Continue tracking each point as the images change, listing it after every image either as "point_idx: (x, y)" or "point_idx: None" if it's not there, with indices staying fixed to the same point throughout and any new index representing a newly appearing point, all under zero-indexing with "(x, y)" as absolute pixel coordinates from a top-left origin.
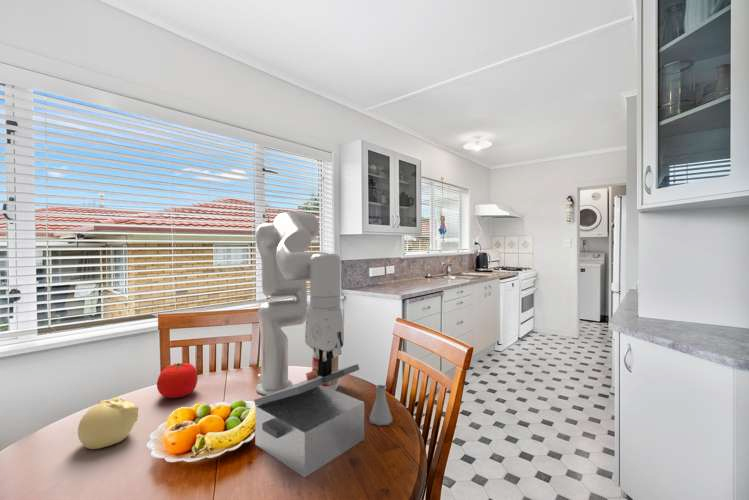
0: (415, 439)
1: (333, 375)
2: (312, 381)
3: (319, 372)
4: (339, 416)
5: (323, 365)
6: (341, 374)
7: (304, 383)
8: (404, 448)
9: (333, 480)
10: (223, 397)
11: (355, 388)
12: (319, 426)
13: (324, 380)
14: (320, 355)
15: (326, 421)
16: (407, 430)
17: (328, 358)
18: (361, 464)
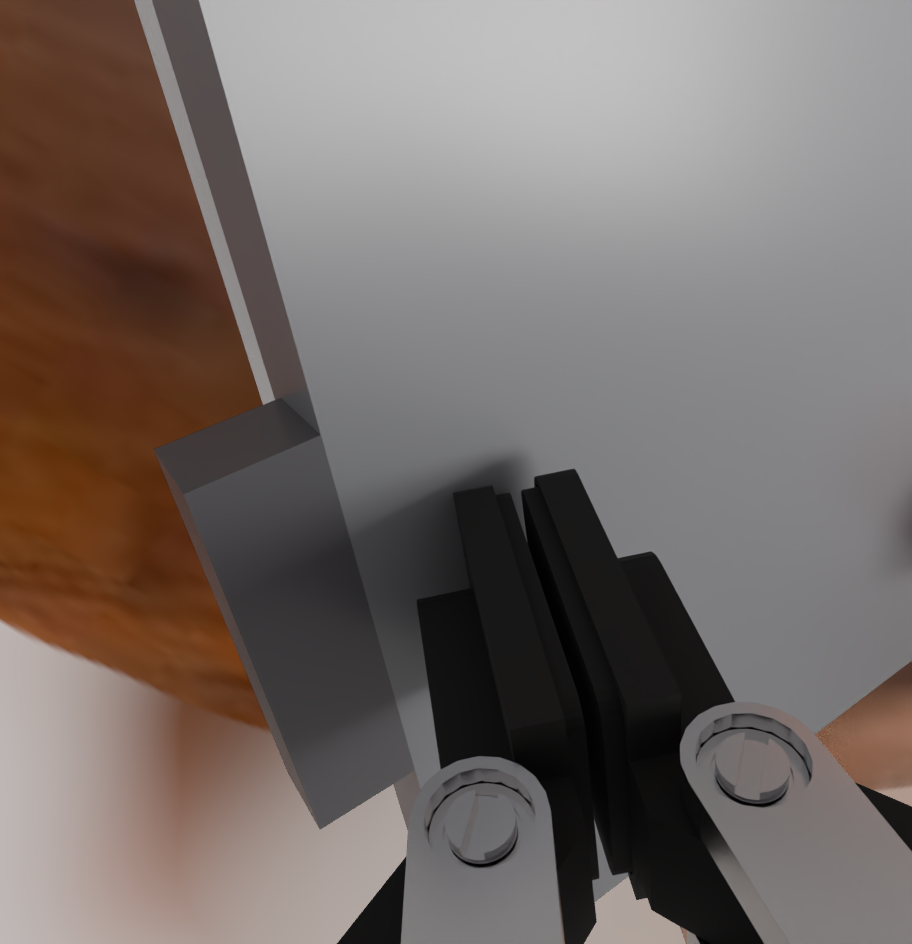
0: (148, 684)
1: (239, 636)
2: (250, 178)
3: (549, 511)
4: (256, 374)
5: (494, 669)
6: (277, 743)
7: (621, 152)
8: (100, 596)
9: (8, 30)
10: None
11: (869, 725)
12: (159, 75)
13: (231, 436)
14: (710, 843)
15: (200, 197)
16: (256, 700)
17: (380, 901)
18: (86, 307)
